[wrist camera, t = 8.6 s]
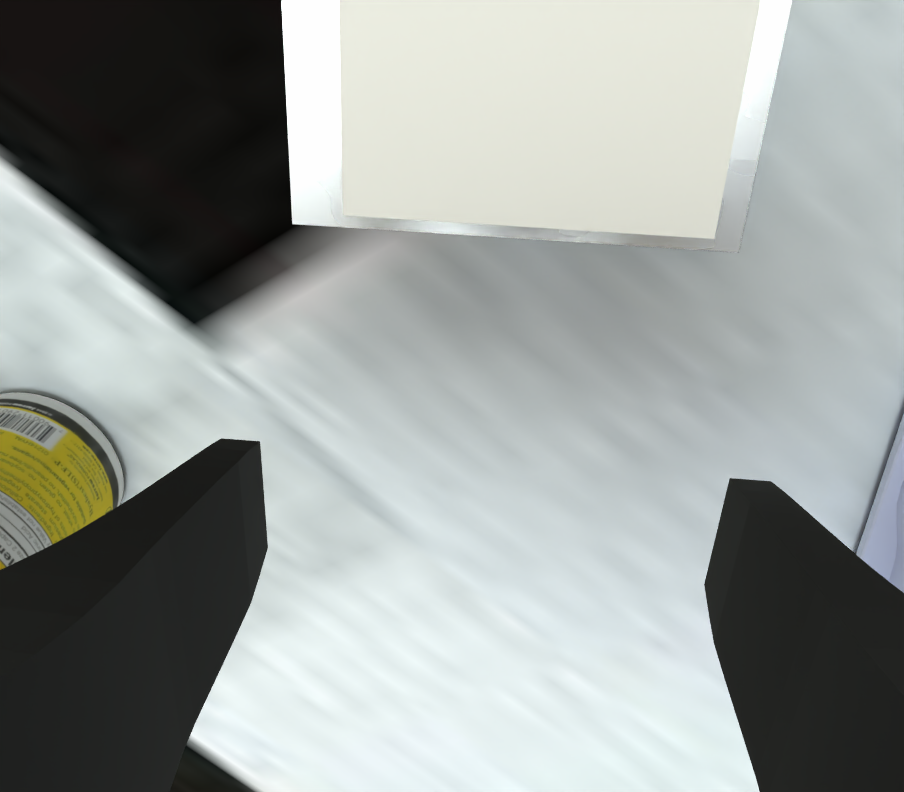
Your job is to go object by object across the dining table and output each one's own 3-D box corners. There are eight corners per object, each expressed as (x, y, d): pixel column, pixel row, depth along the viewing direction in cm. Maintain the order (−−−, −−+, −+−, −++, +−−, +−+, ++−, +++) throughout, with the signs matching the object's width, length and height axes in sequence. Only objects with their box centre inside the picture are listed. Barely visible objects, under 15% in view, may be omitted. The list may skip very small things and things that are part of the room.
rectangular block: (628, 115, 16) (718, 244, 8) (422, 103, 16) (338, 219, 9) (662, -129, 14) (812, -232, 7) (428, -140, 14) (327, -250, 7)
